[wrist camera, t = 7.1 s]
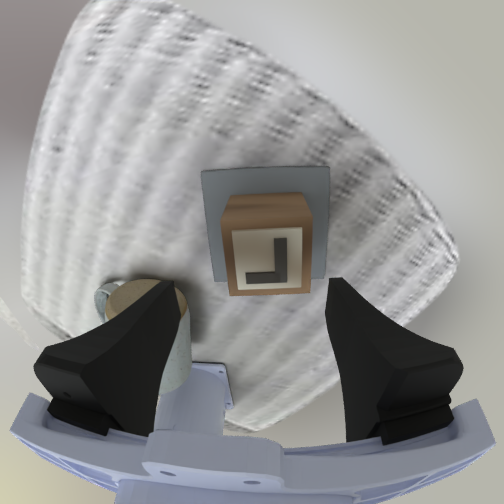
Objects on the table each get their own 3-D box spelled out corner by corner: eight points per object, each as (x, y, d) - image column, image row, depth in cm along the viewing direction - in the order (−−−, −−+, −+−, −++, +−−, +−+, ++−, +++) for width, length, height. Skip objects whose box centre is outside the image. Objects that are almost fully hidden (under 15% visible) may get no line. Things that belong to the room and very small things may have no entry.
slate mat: (322, 274, 23) (324, 278, 22) (215, 277, 23) (214, 281, 23) (327, 166, 19) (329, 167, 18) (202, 171, 19) (200, 172, 19)
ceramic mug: (198, 279, 24) (173, 342, 17) (199, 344, 27) (182, 405, 20) (94, 262, 24) (50, 310, 17) (109, 325, 27) (79, 375, 21)
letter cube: (301, 255, 21) (311, 296, 17) (236, 257, 22) (229, 299, 17) (301, 192, 19) (313, 218, 14) (230, 195, 19) (219, 223, 15)
